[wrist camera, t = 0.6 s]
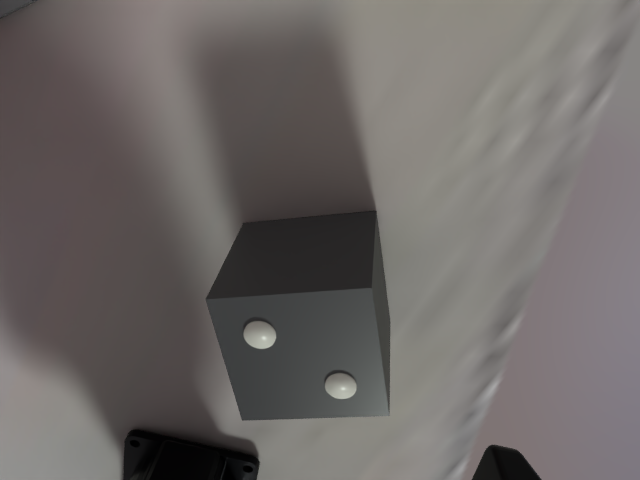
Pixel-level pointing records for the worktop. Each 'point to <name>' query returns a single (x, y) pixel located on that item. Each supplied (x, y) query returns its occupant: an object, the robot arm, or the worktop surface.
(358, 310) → the die
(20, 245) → the worktop surface
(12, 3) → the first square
